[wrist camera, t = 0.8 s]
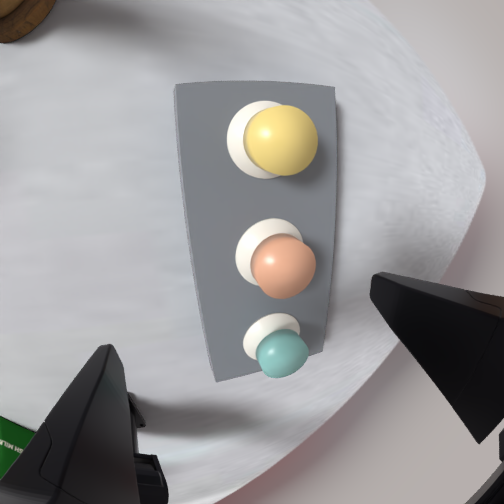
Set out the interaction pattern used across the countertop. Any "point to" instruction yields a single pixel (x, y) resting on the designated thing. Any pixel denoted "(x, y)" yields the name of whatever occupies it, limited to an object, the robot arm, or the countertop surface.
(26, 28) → the brown stepped post
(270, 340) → the teal button
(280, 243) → the terracotta button
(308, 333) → the button console
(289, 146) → the mustard button
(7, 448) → the milk carton
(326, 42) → the countertop surface
